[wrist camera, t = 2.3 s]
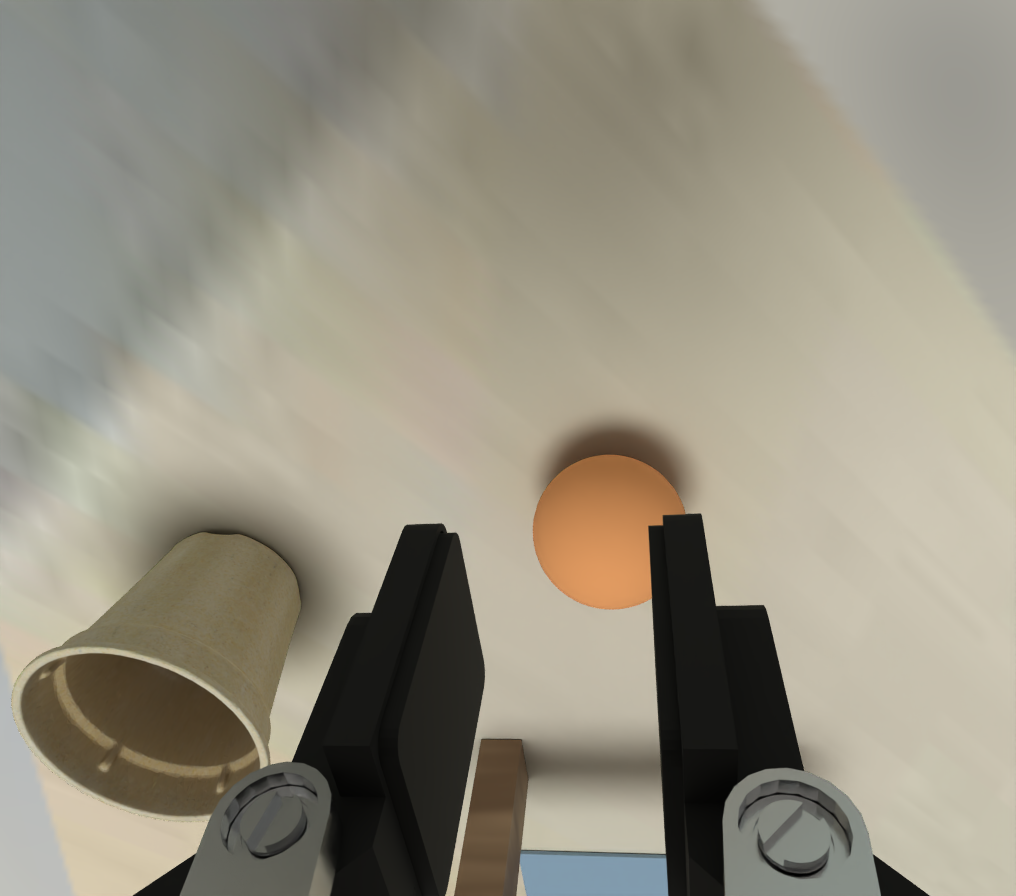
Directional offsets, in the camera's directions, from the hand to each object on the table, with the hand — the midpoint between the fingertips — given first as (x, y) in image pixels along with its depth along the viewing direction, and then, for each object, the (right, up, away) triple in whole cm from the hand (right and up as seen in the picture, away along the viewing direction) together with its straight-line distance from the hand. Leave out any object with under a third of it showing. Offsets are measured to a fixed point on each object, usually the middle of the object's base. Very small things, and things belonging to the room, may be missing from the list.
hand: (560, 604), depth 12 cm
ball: (+3, -1, +17) cm, 17 cm away
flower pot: (-13, -4, +25) cm, 28 cm away
